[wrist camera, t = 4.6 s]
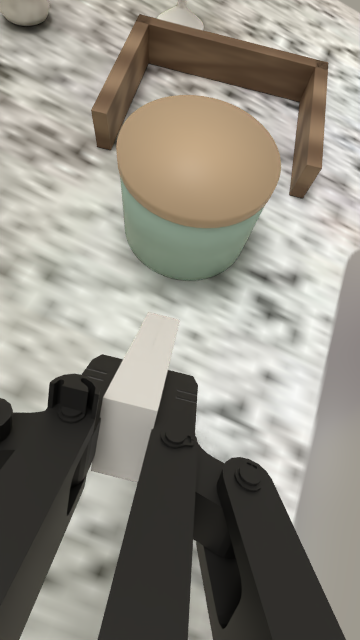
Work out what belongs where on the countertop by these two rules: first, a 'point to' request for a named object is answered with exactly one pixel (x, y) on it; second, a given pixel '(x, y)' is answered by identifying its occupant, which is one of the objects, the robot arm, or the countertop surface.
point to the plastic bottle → (25, 11)
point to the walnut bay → (225, 66)
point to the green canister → (193, 183)
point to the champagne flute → (181, 16)
